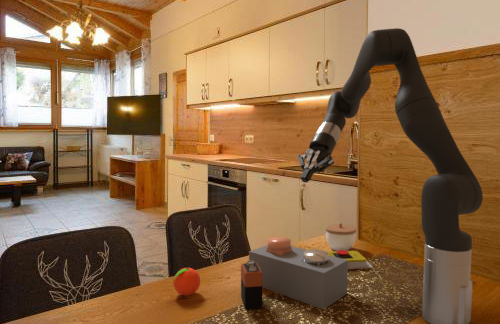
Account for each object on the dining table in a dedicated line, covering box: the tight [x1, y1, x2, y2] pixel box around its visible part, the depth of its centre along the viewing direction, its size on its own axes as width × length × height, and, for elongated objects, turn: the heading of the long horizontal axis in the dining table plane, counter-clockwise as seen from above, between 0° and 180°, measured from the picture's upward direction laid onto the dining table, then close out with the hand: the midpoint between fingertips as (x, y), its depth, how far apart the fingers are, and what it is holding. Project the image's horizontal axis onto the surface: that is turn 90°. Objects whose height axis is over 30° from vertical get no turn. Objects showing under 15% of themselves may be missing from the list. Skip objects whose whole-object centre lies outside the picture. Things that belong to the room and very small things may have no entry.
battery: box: [240, 260, 263, 310], centre depth 93 cm, size 4×7×10 cm, turn 10°
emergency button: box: [326, 250, 374, 270], centre depth 121 cm, size 9×4×15 cm
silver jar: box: [302, 248, 329, 266], centre depth 98 cm, size 6×6×9 cm
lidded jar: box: [325, 222, 357, 251], centre depth 136 cm, size 11×11×9 cm
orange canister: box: [267, 236, 292, 255], centre depth 106 cm, size 6×6×9 cm
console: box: [248, 244, 349, 310], centre depth 102 cm, size 24×12×9 cm, turn 48°
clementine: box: [172, 267, 201, 296], centre depth 98 cm, size 8×7×7 cm
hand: (304, 180), depth 113 cm, fingers closed
